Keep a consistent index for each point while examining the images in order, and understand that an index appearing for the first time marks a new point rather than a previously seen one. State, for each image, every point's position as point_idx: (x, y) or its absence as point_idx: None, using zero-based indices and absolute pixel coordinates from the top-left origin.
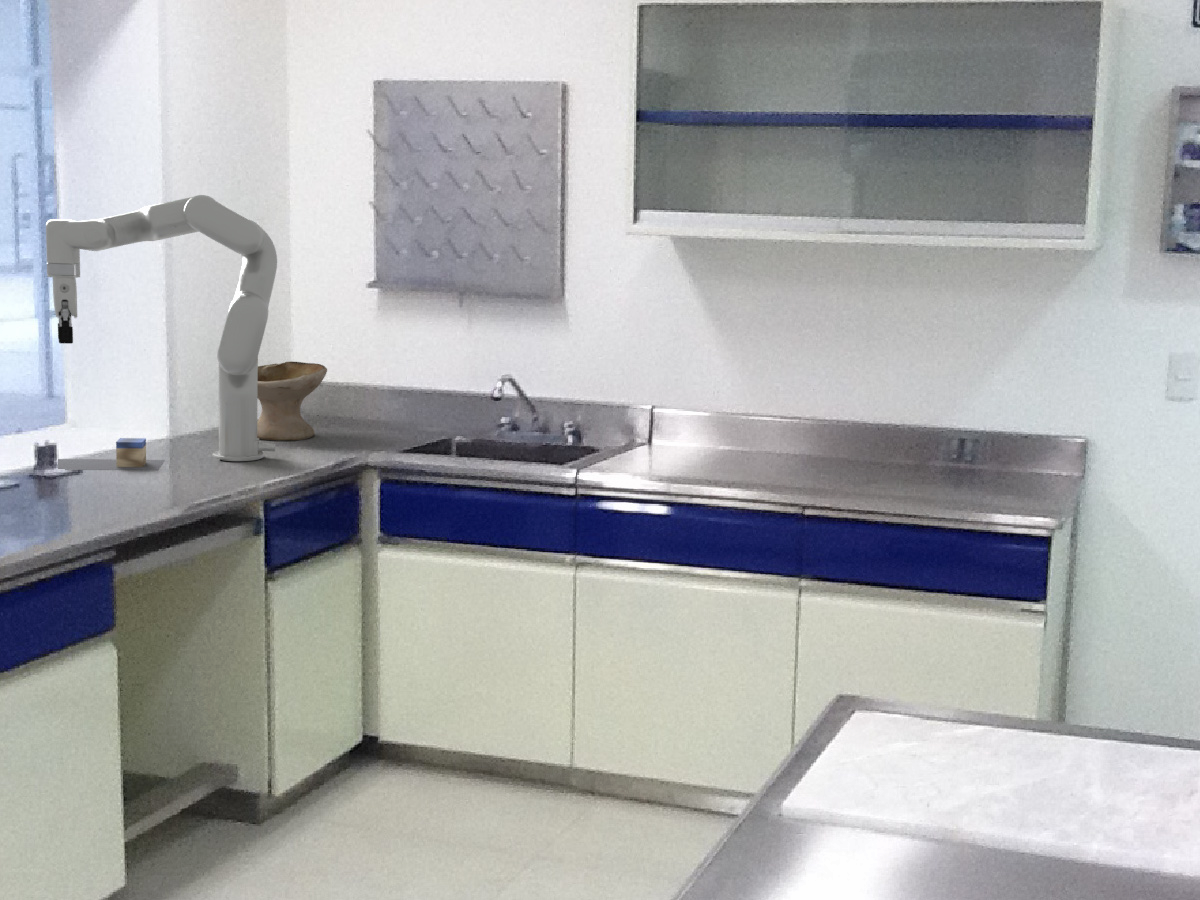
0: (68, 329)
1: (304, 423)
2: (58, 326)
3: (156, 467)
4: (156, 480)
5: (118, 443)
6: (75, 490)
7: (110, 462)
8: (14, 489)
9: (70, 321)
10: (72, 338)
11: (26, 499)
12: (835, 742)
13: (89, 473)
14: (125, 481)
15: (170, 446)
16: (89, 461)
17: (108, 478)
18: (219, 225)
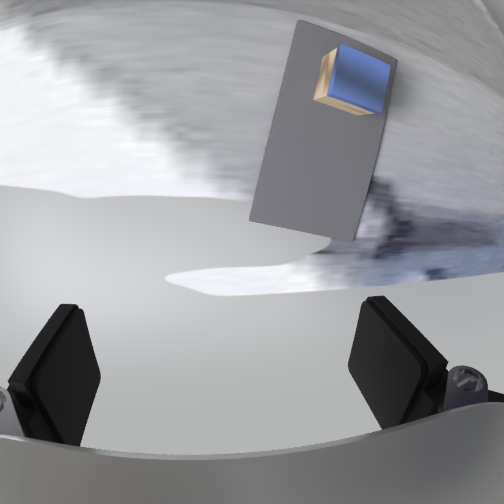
0: (444, 371)
1: None
2: (79, 444)
3: (373, 53)
4: (448, 84)
5: (380, 108)
6: (477, 202)
7: (310, 118)
8: (451, 273)
9: (485, 402)
10: (395, 311)
11: (492, 257)
12: None
13: (384, 167)
14: (448, 127)
15: (109, 2)
16: (291, 156)
17: (426, 145)
18: None
